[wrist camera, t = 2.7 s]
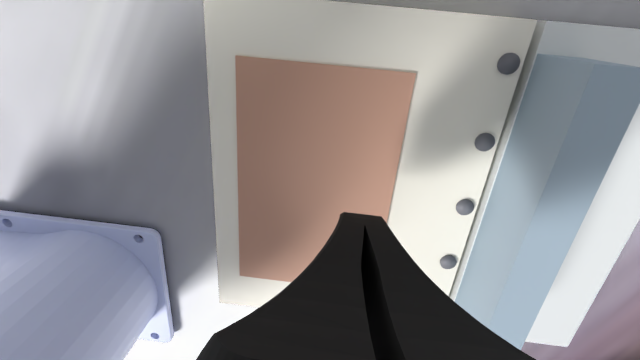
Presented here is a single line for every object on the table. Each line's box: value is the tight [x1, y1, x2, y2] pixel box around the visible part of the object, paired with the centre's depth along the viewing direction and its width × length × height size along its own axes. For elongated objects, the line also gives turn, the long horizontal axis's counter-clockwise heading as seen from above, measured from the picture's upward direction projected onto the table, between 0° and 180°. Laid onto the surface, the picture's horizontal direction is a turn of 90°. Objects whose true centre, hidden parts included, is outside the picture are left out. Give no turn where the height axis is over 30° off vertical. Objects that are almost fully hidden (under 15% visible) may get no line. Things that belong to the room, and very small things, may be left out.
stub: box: [449, 20, 640, 350], centre depth 13 cm, size 6×14×4 cm, turn 175°
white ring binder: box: [203, 0, 537, 308], centre depth 15 cm, size 11×14×2 cm
